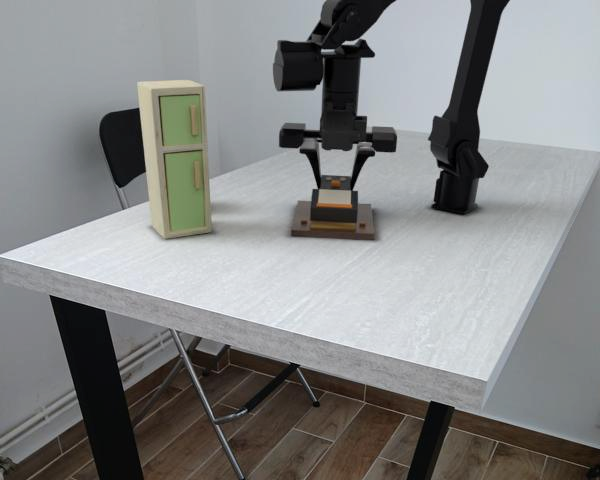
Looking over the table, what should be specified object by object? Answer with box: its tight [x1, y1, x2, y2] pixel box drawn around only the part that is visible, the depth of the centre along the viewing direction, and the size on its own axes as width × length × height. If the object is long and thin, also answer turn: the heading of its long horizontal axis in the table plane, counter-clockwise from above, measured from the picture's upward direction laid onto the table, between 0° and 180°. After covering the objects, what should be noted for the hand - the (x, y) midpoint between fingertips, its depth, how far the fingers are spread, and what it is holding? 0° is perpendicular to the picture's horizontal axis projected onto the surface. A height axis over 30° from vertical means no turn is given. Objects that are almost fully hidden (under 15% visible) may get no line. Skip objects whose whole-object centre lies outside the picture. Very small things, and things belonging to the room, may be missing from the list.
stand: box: [290, 200, 375, 241], centre depth 107 cm, size 16×13×2 cm
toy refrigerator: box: [136, 79, 213, 240], centre depth 96 cm, size 8×7×21 cm
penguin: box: [310, 174, 359, 223], centre depth 106 cm, size 11×8×3 cm
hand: (335, 191), depth 109 cm, fingers closed on penguin, 5 cm apart
